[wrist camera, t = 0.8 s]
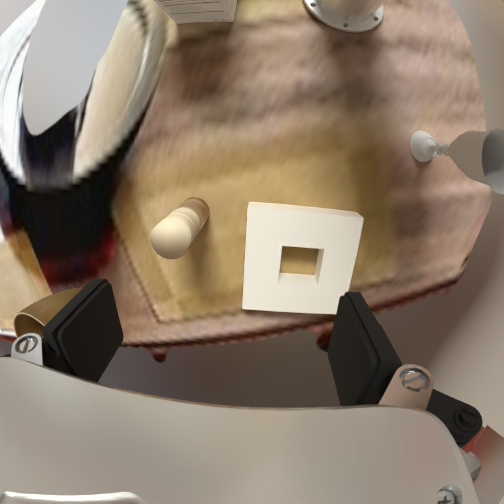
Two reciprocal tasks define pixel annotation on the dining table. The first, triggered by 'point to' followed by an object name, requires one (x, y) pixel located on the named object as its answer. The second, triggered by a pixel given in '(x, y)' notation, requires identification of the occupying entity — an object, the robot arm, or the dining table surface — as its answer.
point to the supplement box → (199, 10)
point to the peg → (179, 228)
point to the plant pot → (41, 312)
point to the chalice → (468, 154)
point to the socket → (298, 235)
